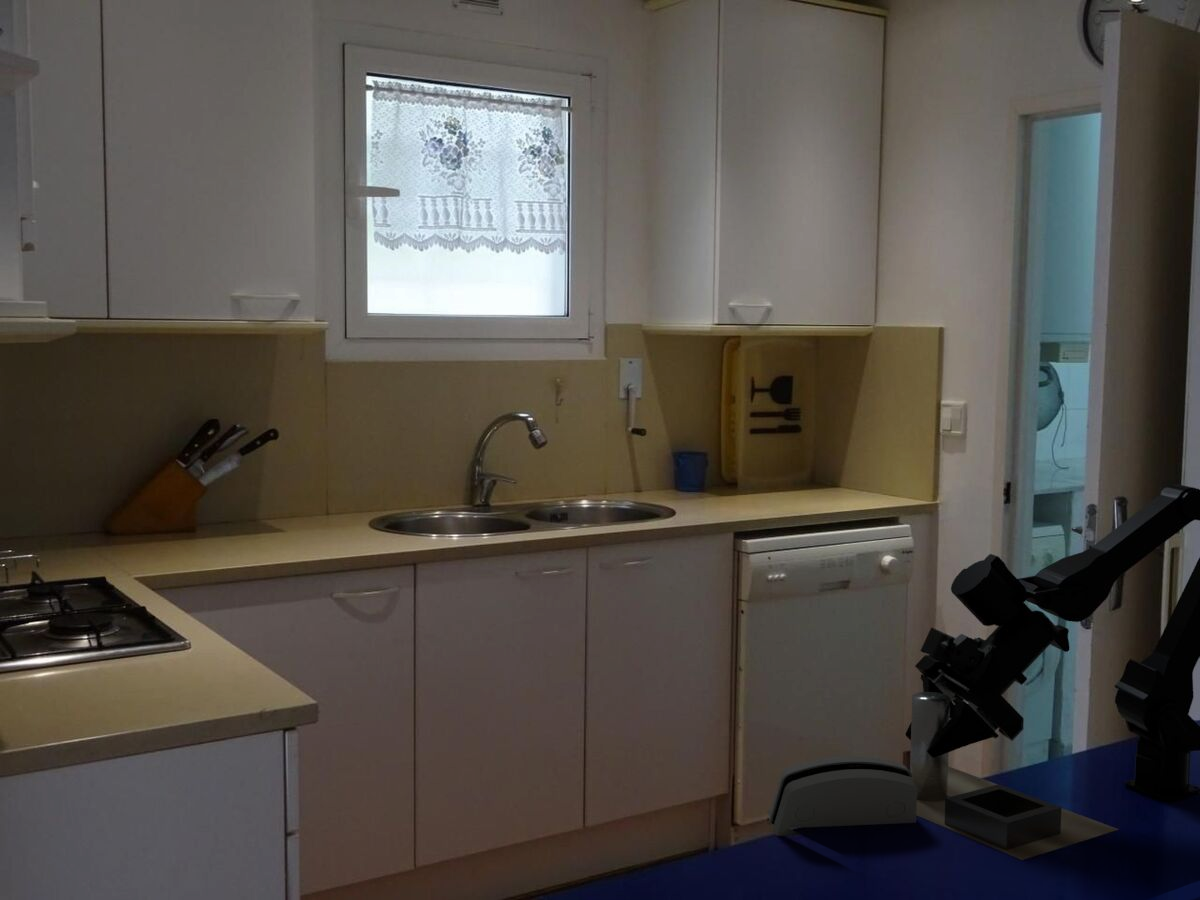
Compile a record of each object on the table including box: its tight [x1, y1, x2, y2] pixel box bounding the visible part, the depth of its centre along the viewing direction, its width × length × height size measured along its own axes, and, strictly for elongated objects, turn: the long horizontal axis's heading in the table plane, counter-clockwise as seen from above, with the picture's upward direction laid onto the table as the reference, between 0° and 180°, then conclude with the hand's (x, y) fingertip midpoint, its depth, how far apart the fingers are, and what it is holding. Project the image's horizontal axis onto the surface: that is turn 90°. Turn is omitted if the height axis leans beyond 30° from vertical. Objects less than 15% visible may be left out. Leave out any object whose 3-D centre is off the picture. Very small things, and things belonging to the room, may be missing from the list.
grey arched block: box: [766, 756, 917, 837], centre depth 152 cm, size 17×5×10 cm, turn 97°
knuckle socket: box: [945, 783, 1063, 850], centre depth 150 cm, size 9×9×3 cm
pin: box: [909, 691, 951, 802], centre depth 160 cm, size 4×4×12 cm
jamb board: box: [916, 765, 1120, 861], centre depth 157 cm, size 16×26×1 cm, turn 33°
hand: (918, 746), depth 160 cm, fingers open, 6 cm apart
